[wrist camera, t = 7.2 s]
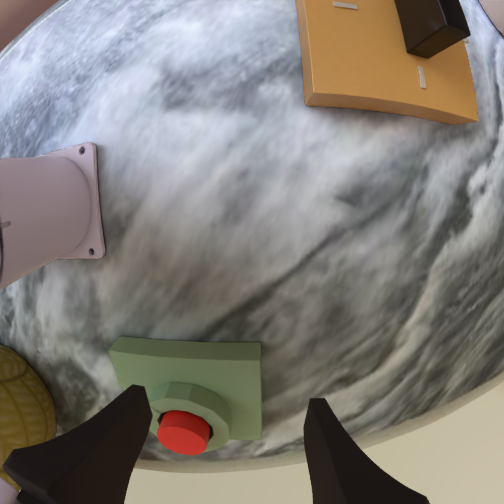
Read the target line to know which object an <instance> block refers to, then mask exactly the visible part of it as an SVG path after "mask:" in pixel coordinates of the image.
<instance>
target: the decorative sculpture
mask: <svg viewBox="0 0 504 504" xmlns="http://www.w3.org/2000/svg"><path fill="white" fill-rule="evenodd" d="M55 436H56V414H55V408H54V403H53V400H52V398H51V395H50V393H49V391H48V390H47V388H46V386H45V385H44V383H43V382H42V380H41V379H40V377H39V376H38V375H37V374H36V372H35V371H34V370H33V369H32V368H31V367H30V366H29V365H28V363H27V362H26V361H25V360H24V359H23V358H22V357H20V356H19V355H18V354H17V353H16V352H14V351H13V350H11V349H10V348H8V347H6V346H4V345H1V344H0V478H2V479H3V480H4V481H6V482H7V483H8V484H10V485H11V486H12V487H14V488H15V489H16V490H18V491H20V490H21V489H22V488H21V487H20V486H19V485H18V484H17V483H16V482H14V481H13V480H12V479H11V477H10V476H9V475H8V474H7V473H6V472H5V471H4V470H3V467H2V465H3V464H4V462H5V461H6V459H7V458H8V456H9V455H10V453H11V452H12V451H13V449H18V448H23V447H28V446H32V445H36V444H39V443H43V442H46V441H48V440H51V439H54V438H55Z"/></svg>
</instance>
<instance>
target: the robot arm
mask: <svg viewBox="0 0 504 504" xmlns="http://www.w3.org/2000/svg"><path fill="white" fill-rule="evenodd" d="M83 148H85V152H84V154H83V153H82V150H83ZM92 249H93V250H94V254H93V253H92ZM104 255H105V245H104V239H103V231H102V223H101V214H100V205H99V193H98V179H97V159H96V145H95V144H94V143H91V142H87V143H83V144H79V145H76V146H72V147H68V148H64V149H61V150H57V151H54V152H50V153H47V154H44V155H41V156H37V157H21V158H3V159H0V290H1V289H3V288H4V287H6V286H8V285H10V284H11V283H13V282H15V281H17V280H18V279H20V278H22V277H24V276H26V275H27V274H29V273H31V272H33V271H35V270H36V269H38V268H40V267H42V266H44V265H46V264H48V263H50V262H52V261H53V260H55V259H95V258H101V257H103V256H104ZM152 417H153V414H152V411H151V408H150V404H149V401H148V397H147V394H146V390H145V386H140V385H135V384H132V385H131V386H130V387H128V388H127V389H126V390H125V391H124V392H122V393H121V394H120V395H119V396H118V397H117V398H115V399H114V400H113V401H112V402H111V403H110V404H108V405H107V406H106V407H105V408H103V409H102V410H101V411H100V412H98V413H97V414H96V415H94V416H93V417H91V418H90V419H89V420H87V421H86V422H84V423H83V424H81V425H80V426H78V427H76V428H74V429H73V430H71V431H69V432H67V433H65V434H63V435H60V436H58V437H56V438H54V439H51V440H48V441H46V442H43V443H39V444H36V445H32V446H28V447H23V448H18V449H13V451H12V452H11V453H10V455H9V456H8V458H7V459H6V461H5V462H4V464H3V465H2V467H3V470H4V471H5V472H6V473H7V474H8V475H9V476H10V477H11V479H12V480H13V481H14V482H16V483H17V484H18V485H19V486H20V487H21V488H22V489H21V491H20V492H19V491H18V490H16V489H15V488H14V487H12V486H11V485H10V484H8V483H7V482H6V481H4V480H3V479H2V478H0V504H124V500H125V496H126V491H127V488H128V483H129V480H130V476H131V473H132V471H133V468H134V466H135V463H136V461H137V459H138V456H139V454H140V452H141V449H142V447H143V445H144V442H145V440H146V437H147V435H148V432H149V429H150V425H151V421H152ZM304 446H305V452H306V458H307V463H308V468H309V474H310V480H311V485H312V493H313V504H430V503H429V501H428V499H427V497H426V496H424V495H422V494H420V493H418V492H416V491H414V490H412V489H410V488H408V487H406V486H405V485H403V484H401V483H400V482H398V481H397V480H395V479H394V478H392V477H391V476H390V475H389V474H387V473H386V472H384V471H383V470H382V469H380V467H378V466H377V465H376V464H375V463H374V462H373V461H372V460H371V459H370V458H369V457H368V456H367V455H366V454H365V453H364V452H363V451H362V450H361V449H360V448H359V447H358V446H357V444H356V443H355V442H354V441H353V440H352V438H351V437H350V436H349V434H348V433H347V432H346V430H345V429H344V428H343V426H342V425H341V423H340V422H339V421H338V419H337V417H336V416H335V414H334V413H333V411H332V409H331V408H330V406H329V404H328V403H327V401H326V399H325V398H312V399H310V401H309V406H308V410H307V415H306V419H305V423H304Z"/></svg>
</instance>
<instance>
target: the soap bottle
mask: <svg viewBox="0 0 504 504" xmlns="http://www.w3.org/2000/svg"><path fill="white" fill-rule="evenodd" d="M479 2H480V4H481V5H482V7H483V9H484V11H485V13H486V14H487V15H488V17H489V18H490V20H491V21H492V22H493V24H494V25H495V27H496V28H497V29H498V30H499V31H500V32H501V34H502V35H503V36H504V0H479Z"/></svg>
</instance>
